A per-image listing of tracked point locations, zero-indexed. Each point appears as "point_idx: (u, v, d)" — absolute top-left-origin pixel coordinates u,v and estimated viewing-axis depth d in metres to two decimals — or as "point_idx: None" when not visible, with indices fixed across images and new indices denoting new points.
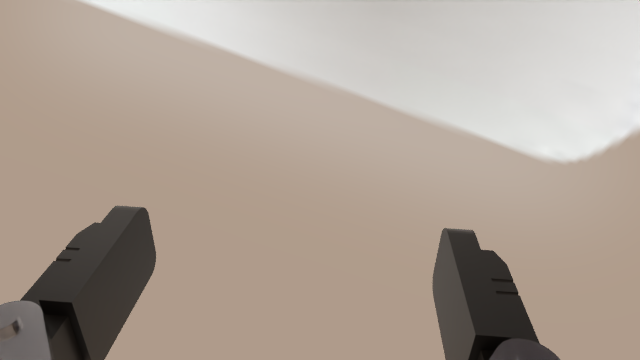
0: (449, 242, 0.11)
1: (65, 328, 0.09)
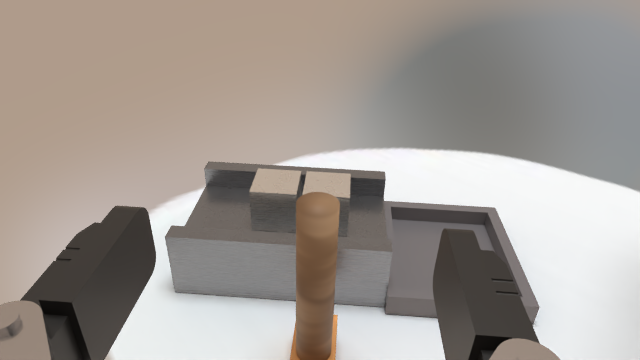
0: (449, 242, 0.11)
1: (65, 328, 0.09)
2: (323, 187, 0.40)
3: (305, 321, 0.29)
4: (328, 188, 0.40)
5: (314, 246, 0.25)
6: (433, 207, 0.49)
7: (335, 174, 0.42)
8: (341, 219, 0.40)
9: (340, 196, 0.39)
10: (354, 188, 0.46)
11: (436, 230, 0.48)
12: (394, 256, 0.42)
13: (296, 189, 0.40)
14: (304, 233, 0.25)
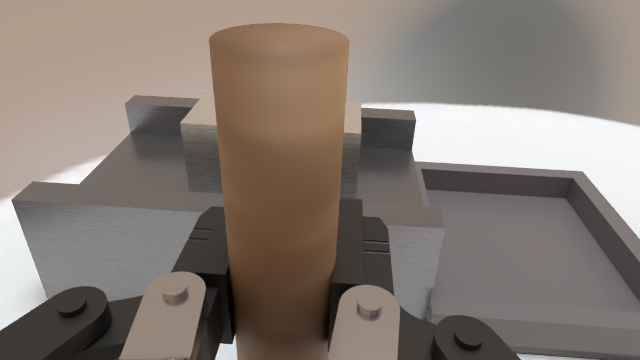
0: None
1: (216, 299, 0.10)
2: None
3: None
4: None
5: (268, 176, 0.08)
6: (486, 170, 0.31)
7: None
8: (345, 175, 0.23)
9: (344, 132, 0.21)
10: (365, 136, 0.29)
11: (493, 205, 0.30)
12: None
13: None
14: (235, 131, 0.08)
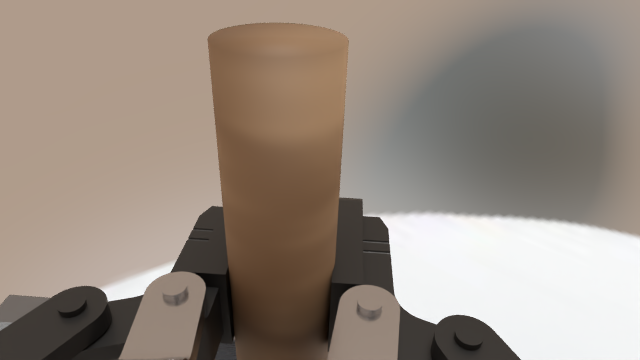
0: None
1: (216, 298, 0.10)
2: None
3: None
4: None
5: (266, 175, 0.08)
6: None
7: None
8: None
9: None
10: None
11: None
12: None
13: None
14: (233, 130, 0.08)
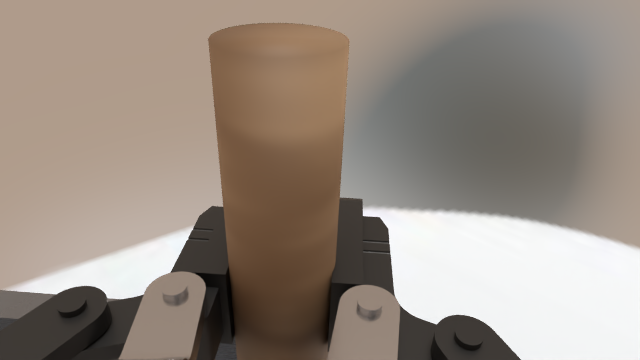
0: None
1: (217, 298, 0.10)
2: None
3: None
4: None
5: (267, 176, 0.08)
6: None
7: None
8: None
9: None
10: (234, 356, 0.20)
11: None
12: None
13: None
14: (234, 131, 0.08)
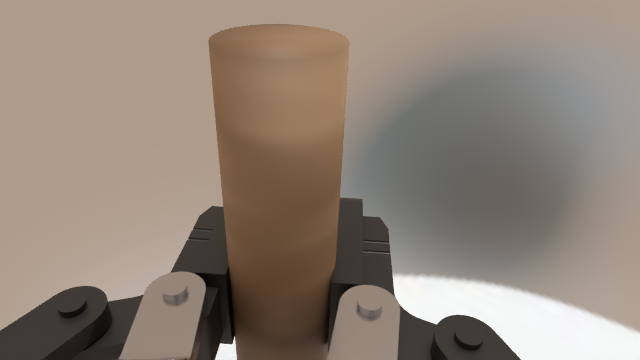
0: None
1: (216, 299, 0.10)
2: None
3: None
4: None
5: (267, 177, 0.08)
6: None
7: None
8: None
9: None
10: None
11: None
12: None
13: None
14: (234, 132, 0.08)
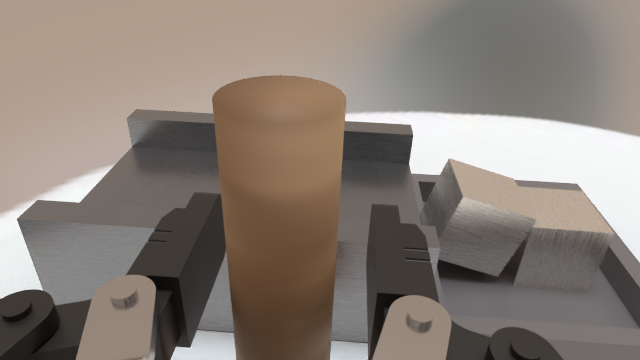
0: (373, 215, 0.12)
1: (170, 302, 0.10)
2: None
3: None
4: None
5: (268, 227, 0.08)
6: None
7: None
8: (547, 281, 0.25)
9: (592, 281, 0.25)
10: (363, 150, 0.29)
11: None
12: None
13: (530, 210, 0.24)
14: (237, 186, 0.08)
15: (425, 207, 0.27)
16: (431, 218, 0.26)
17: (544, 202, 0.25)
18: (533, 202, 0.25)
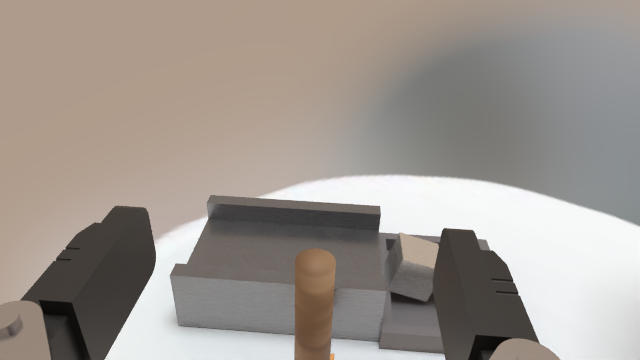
0: (449, 242, 0.11)
1: (65, 328, 0.09)
2: None
3: None
4: None
5: (311, 301, 0.27)
6: (426, 239, 0.50)
7: None
8: None
9: None
10: (350, 222, 0.48)
11: None
12: None
13: None
14: (302, 289, 0.27)
15: (387, 259, 0.46)
16: (389, 267, 0.45)
17: None
18: None
